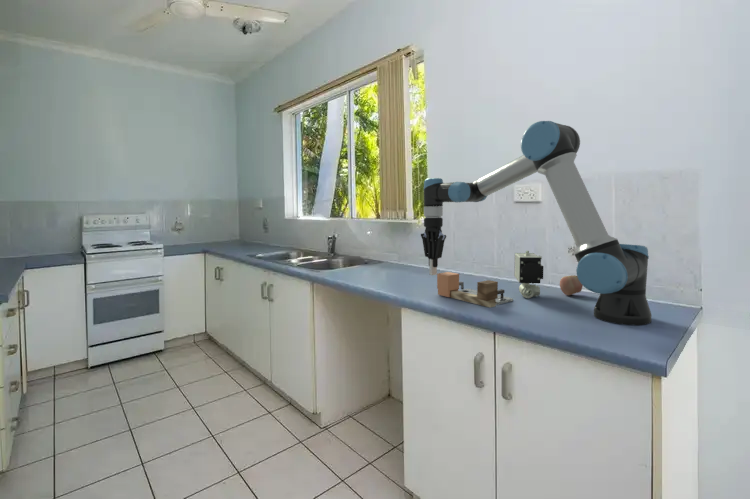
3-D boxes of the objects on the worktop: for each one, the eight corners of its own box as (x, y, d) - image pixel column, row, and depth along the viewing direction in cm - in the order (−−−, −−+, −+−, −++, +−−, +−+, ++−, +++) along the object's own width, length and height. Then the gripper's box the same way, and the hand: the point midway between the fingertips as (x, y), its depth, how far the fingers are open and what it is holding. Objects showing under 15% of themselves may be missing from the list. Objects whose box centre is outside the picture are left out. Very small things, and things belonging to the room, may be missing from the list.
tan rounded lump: (581, 294, 156) (582, 274, 155) (582, 298, 149) (583, 277, 148) (559, 292, 159) (559, 272, 158) (559, 296, 152) (560, 276, 151)
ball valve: (544, 302, 144) (546, 253, 142) (520, 301, 146) (521, 253, 144) (535, 291, 161) (536, 248, 159) (513, 291, 163) (514, 248, 161)
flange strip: (513, 301, 147) (513, 298, 147) (497, 304, 142) (497, 301, 142) (468, 290, 165) (468, 288, 165) (452, 294, 160) (452, 291, 160)
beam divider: (508, 303, 144) (509, 280, 143) (487, 308, 137) (487, 284, 136) (457, 291, 164) (458, 271, 163) (437, 295, 158) (437, 274, 157)
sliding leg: (468, 293, 159) (468, 272, 158) (448, 297, 153) (448, 275, 152) (457, 290, 164) (457, 270, 163) (437, 294, 158) (437, 273, 157)
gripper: (451, 217, 157) (451, 275, 160) (429, 216, 168) (429, 271, 171) (437, 217, 153) (437, 278, 156) (415, 217, 164) (415, 273, 167)
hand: (433, 274), depth 163 cm, fingers closed
